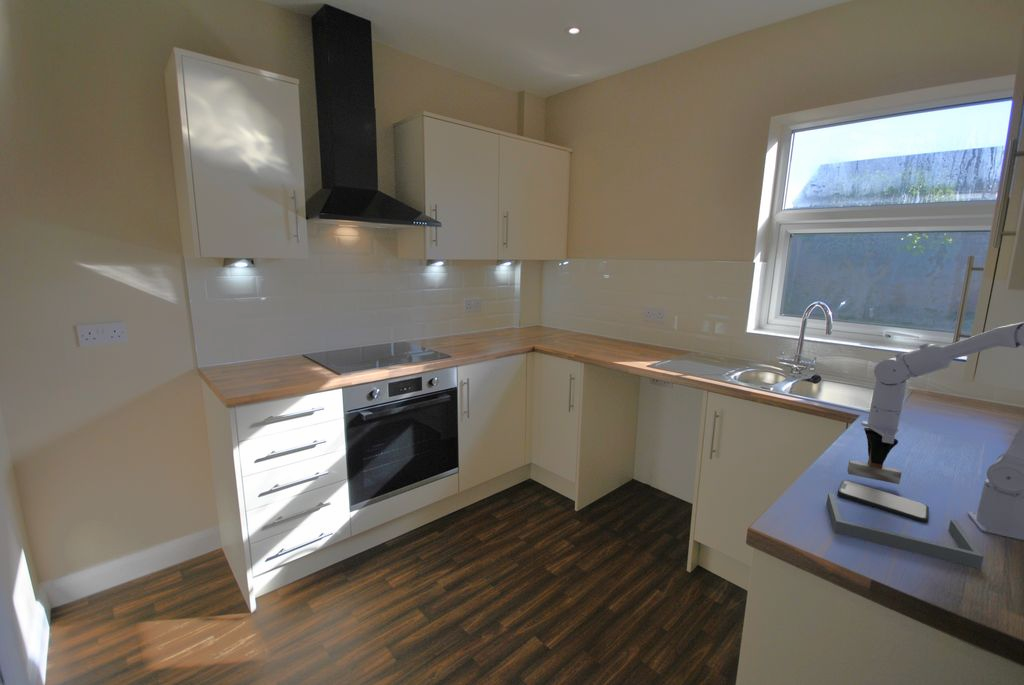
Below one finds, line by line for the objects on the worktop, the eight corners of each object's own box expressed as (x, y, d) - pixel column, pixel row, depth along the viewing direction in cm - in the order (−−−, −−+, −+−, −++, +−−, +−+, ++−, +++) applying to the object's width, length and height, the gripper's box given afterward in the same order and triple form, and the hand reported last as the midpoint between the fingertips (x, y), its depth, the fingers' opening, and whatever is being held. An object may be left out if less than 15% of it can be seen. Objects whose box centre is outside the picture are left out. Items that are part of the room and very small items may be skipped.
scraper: (896, 480, 114) (903, 445, 112) (899, 484, 112) (906, 449, 110) (847, 470, 118) (853, 437, 117) (848, 474, 116) (855, 440, 114)
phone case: (927, 511, 105) (841, 484, 115) (929, 504, 104) (843, 478, 115) (926, 527, 98) (835, 497, 109) (928, 520, 98) (837, 491, 108)
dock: (954, 532, 96) (957, 521, 95) (980, 568, 84) (983, 556, 84) (826, 503, 105) (828, 492, 105) (834, 532, 94) (836, 521, 94)
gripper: (859, 397, 120) (850, 446, 122) (871, 413, 107) (860, 468, 110) (894, 401, 117) (884, 452, 119) (910, 419, 104) (898, 476, 107)
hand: (875, 460), depth 114 cm, fingers closed on scraper, 2 cm apart
